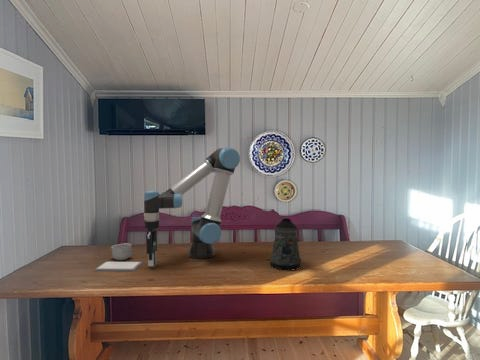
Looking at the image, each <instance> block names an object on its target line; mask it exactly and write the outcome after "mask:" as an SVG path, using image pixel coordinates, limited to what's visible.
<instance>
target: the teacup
mask: <svg viewBox="0 0 480 360" xmlns="http://www.w3.org/2000/svg"><path fill="white" fill-rule="evenodd" d="M110 249H111V256H112V258H113V259H115V261H126V260H128V259H129V258H130V257H131V255H132V244H131V243H127V242H125V243H119V244H114V245H112V246H111V247H110Z"/></svg>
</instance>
